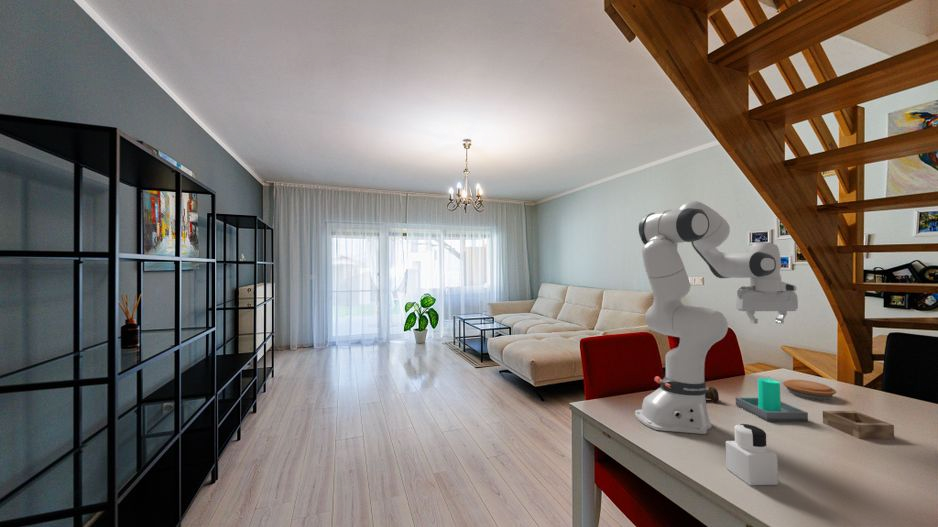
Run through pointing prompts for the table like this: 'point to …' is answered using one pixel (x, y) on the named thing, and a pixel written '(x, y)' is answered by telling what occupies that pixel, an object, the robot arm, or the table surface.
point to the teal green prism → (769, 395)
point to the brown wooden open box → (858, 424)
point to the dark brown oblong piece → (712, 394)
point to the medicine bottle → (751, 456)
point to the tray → (785, 415)
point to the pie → (809, 389)
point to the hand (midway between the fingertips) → (766, 323)
